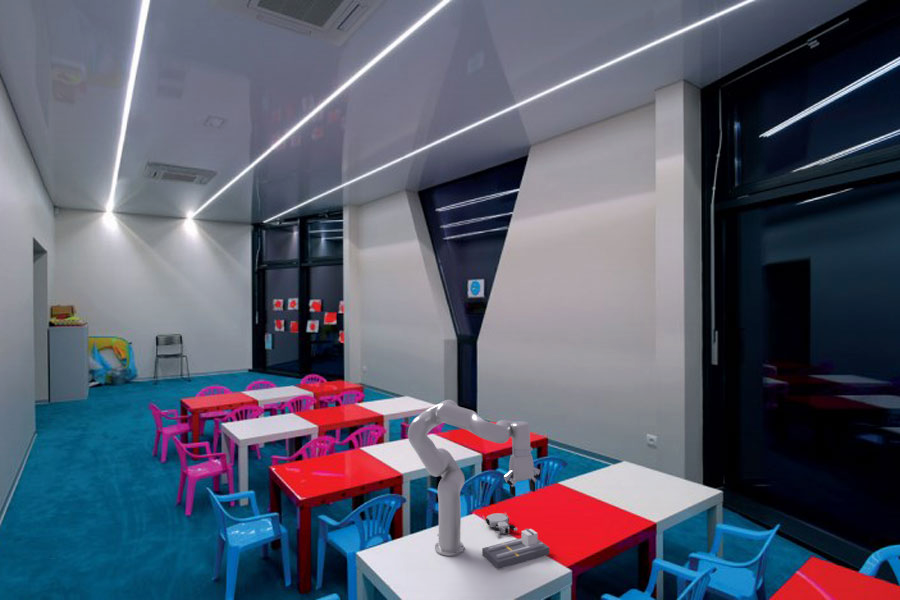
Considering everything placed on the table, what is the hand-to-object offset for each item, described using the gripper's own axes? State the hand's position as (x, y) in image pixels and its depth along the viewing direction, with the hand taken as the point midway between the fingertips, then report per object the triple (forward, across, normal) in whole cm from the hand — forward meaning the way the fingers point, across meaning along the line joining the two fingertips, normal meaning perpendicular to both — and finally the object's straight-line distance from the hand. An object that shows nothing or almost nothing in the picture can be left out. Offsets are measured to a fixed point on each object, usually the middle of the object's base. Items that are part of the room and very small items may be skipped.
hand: (522, 492), depth 199 cm
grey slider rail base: (+27, +2, -4) cm, 27 cm away
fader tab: (+24, -5, -4) cm, 25 cm away
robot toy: (+27, -4, -27) cm, 39 cm away
